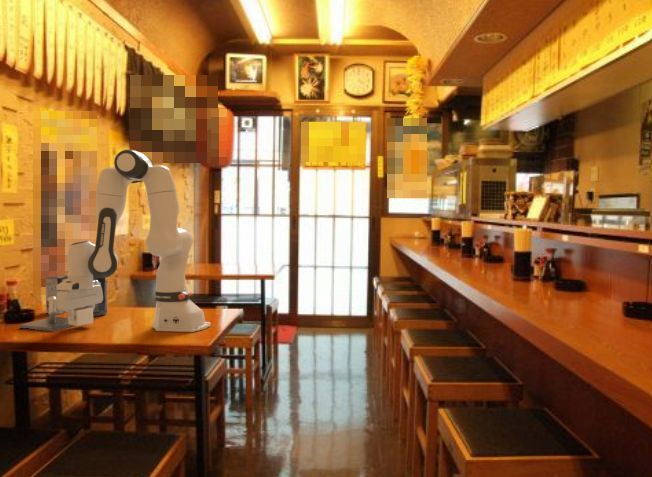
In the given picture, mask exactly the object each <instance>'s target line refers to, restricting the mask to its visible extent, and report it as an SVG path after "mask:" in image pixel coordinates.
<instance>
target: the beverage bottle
mask: <svg viewBox="0 0 652 477" xmlns="http://www.w3.org/2000/svg"><path fill="white" fill-rule="evenodd" d="M95 280H98V281H99V282H100V283H101V288H102V293H103V301H102V302H101V303H98V304H95V308H94V310H93V318H94V317H101V316H104V315H107V312H108V281H107V280H106V278H99V277H96V276H94V275H93V281H95ZM99 282H98V283H99ZM85 307H88V306H85Z"/></svg>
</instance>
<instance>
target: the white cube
mask: <svg viewBox="0 0 652 477" xmlns="http://www.w3.org/2000/svg"><path fill="white" fill-rule="evenodd" d="M73 314H74V316H76V320H74V321H70V318H69V315H68V314H67V318H68V322H69V324H70V325H75V326H76V327H81V326H85V325H89V324H90V325H91V324H93V323H94V317H93V308H91V307H80V308H76V309H74V312H73ZM75 326H74V327H75Z"/></svg>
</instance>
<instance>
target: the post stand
mask: <svg viewBox="0 0 652 477" xmlns="http://www.w3.org/2000/svg"><path fill="white" fill-rule="evenodd" d="M47 301H49V314H48V315H49V316H48V317H47V318H42V319H38V320H35V321H30V322H26V323H21V324H19V329H20V328H29V329H35V330H34V331H40V330H43V331H42V332H50V331H51V333H52V332H57V331H60V330H64V329H68V328H70V327H75V325H70V324H69V322H68V317H60V316H57V314H56V297H49V298H47ZM29 329H28V330H29Z"/></svg>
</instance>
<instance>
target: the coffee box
mask: <svg viewBox="0 0 652 477" xmlns="http://www.w3.org/2000/svg"><path fill="white" fill-rule="evenodd" d="M66 279H68V275H55V276H51V277H46V278H45V290H46V291H45V304H46V305H45V308H46V309H45V311H46V312H45V314H46V313H48V314H47V315H49V301H47V298H49V297H57V293H58V291H60V290H57V285H58V284H60V283H61V282H63V281H65V280H66ZM65 312H66V313H67V311H59V310H58V309H57V305H56V315H61V314H64V313H65Z"/></svg>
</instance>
